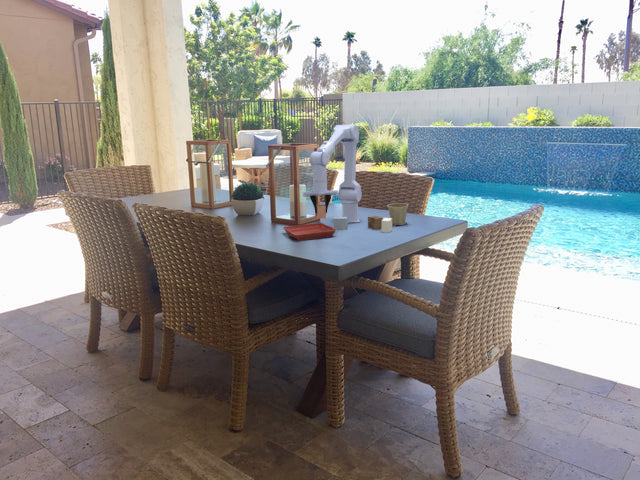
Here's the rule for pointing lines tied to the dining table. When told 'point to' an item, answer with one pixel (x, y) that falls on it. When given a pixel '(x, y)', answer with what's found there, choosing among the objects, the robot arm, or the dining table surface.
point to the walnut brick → (375, 222)
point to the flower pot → (398, 213)
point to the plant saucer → (310, 231)
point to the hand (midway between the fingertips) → (321, 213)
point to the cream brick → (387, 225)
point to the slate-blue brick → (340, 223)
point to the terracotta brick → (321, 211)
